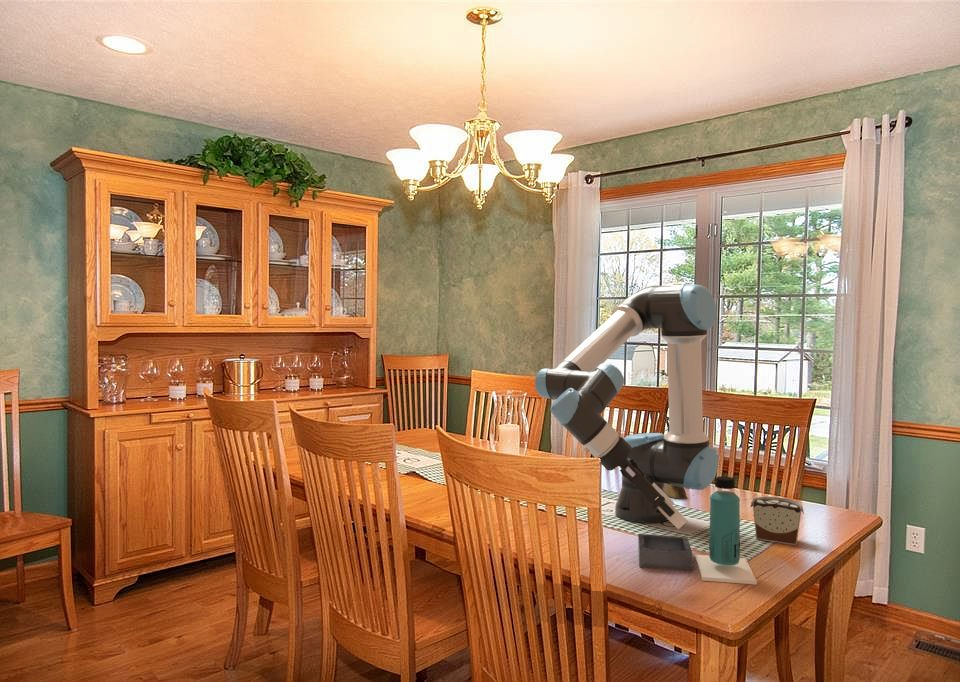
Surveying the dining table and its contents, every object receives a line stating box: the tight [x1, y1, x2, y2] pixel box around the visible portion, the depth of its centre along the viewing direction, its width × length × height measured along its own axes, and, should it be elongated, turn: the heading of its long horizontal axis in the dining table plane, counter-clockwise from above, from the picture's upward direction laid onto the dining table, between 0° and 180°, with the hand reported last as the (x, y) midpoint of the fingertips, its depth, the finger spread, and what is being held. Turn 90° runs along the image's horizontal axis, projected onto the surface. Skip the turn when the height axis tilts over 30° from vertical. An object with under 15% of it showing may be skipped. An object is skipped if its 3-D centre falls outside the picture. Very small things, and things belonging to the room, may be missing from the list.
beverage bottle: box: [708, 475, 741, 565], centre depth 152 cm, size 6×7×20 cm
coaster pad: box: [694, 554, 758, 585], centre depth 152 cm, size 14×11×1 cm
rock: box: [664, 483, 688, 499], centre depth 217 cm, size 11×9×10 cm
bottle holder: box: [637, 533, 693, 572], centre depth 159 cm, size 11×11×4 cm
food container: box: [750, 496, 805, 546], centre depth 174 cm, size 12×6×10 cm, turn 59°
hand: (676, 515), depth 153 cm, fingers open, 13 cm apart
